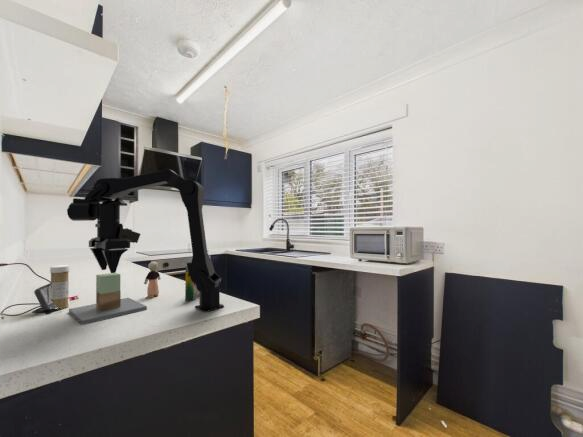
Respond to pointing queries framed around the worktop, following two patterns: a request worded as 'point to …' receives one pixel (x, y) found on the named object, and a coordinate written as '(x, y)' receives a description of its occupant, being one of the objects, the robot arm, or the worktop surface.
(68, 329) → the worktop surface
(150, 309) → the worktop surface
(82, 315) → the baseplate
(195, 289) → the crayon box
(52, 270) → the sprinkles bottle
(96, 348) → the worktop surface
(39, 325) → the worktop surface
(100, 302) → the brown wooden cube
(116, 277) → the sage brick
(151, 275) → the grandmother figurine
